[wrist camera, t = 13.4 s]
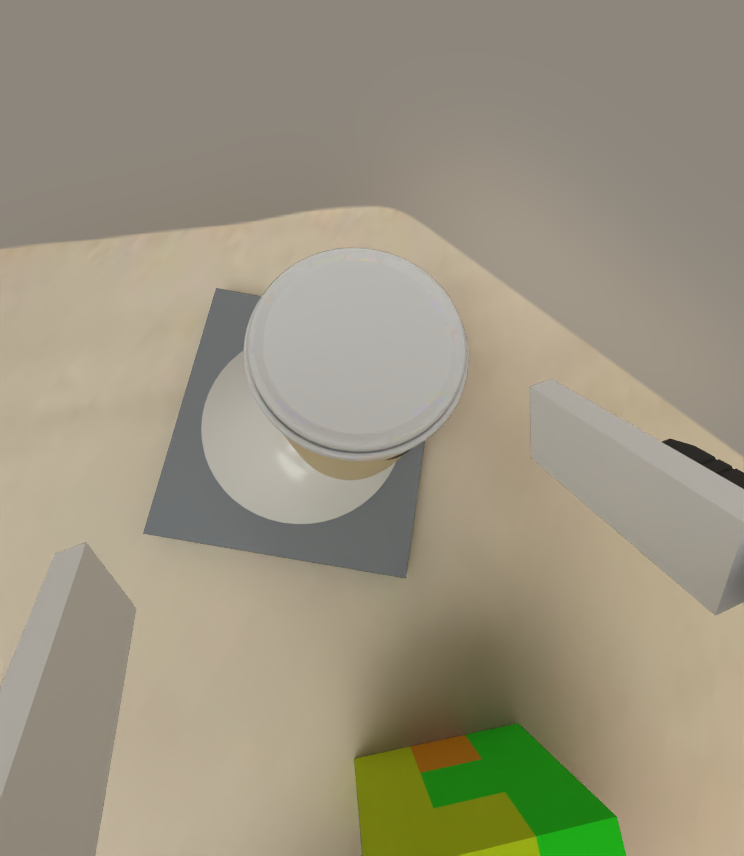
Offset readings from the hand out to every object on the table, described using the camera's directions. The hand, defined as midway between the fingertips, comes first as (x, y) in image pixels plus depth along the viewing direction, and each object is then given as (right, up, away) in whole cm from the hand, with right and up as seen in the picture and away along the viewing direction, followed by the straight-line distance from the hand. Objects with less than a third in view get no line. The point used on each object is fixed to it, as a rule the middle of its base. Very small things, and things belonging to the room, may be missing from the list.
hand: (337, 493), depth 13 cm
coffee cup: (0, +2, +16) cm, 17 cm away
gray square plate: (-3, +2, +18) cm, 18 cm away
